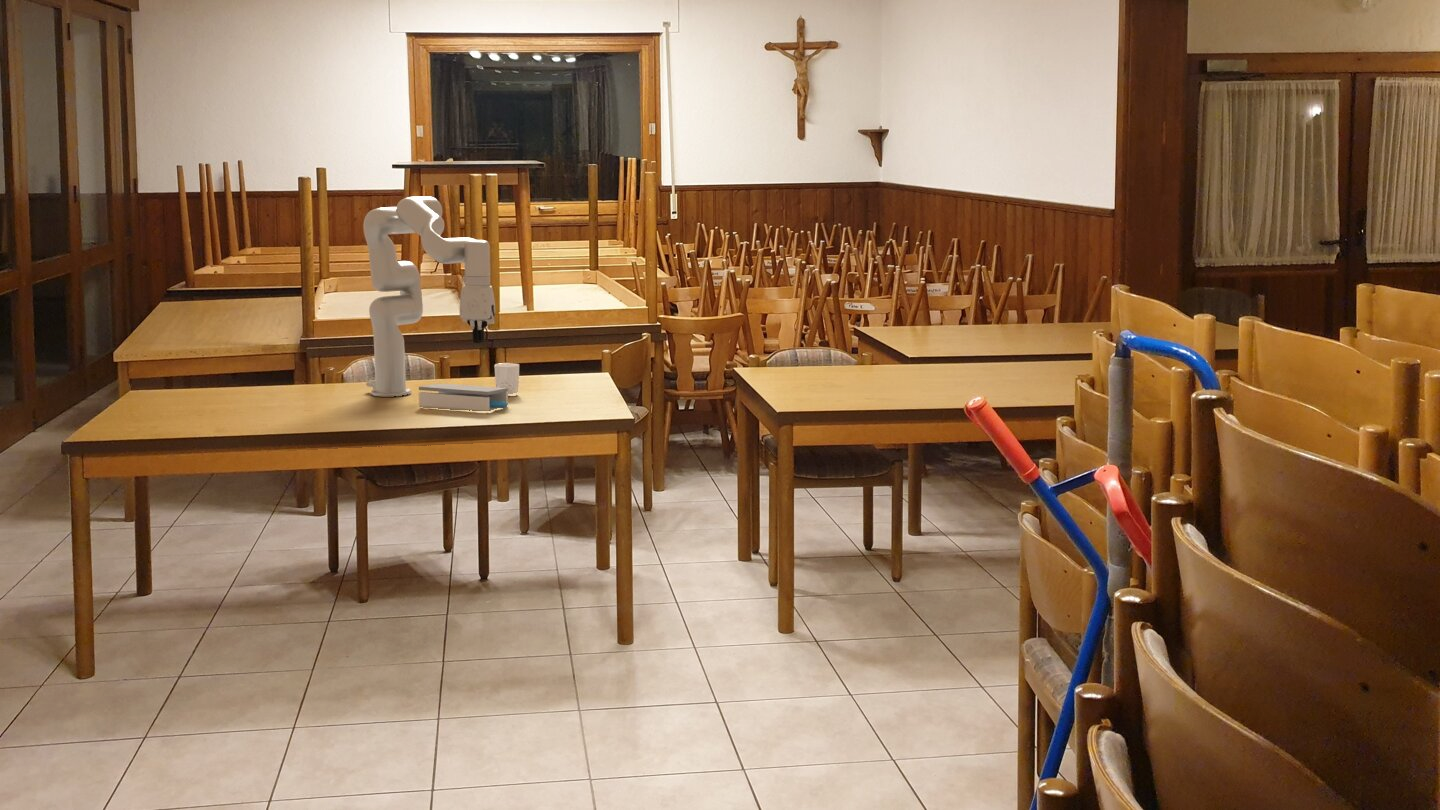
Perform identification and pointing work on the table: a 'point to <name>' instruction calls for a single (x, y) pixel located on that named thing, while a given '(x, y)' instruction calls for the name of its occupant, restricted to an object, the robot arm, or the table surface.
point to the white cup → (507, 376)
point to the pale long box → (460, 400)
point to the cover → (463, 389)
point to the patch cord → (498, 404)
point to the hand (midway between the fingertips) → (478, 342)
